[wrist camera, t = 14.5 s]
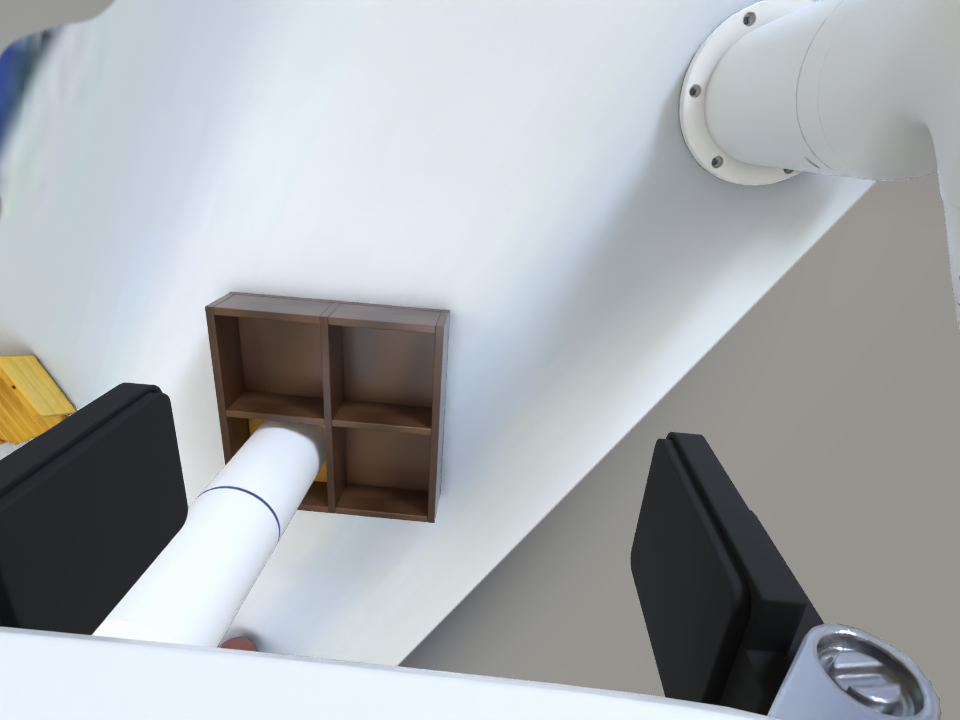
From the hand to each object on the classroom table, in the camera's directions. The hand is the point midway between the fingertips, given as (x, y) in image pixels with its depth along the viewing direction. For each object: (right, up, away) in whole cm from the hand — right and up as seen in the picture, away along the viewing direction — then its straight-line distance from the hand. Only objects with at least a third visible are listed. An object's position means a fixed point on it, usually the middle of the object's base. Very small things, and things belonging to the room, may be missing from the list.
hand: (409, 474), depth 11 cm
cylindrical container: (-17, -6, +44) cm, 48 cm away
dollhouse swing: (-46, -1, +45) cm, 64 cm away
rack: (-12, -2, +43) cm, 45 cm away
